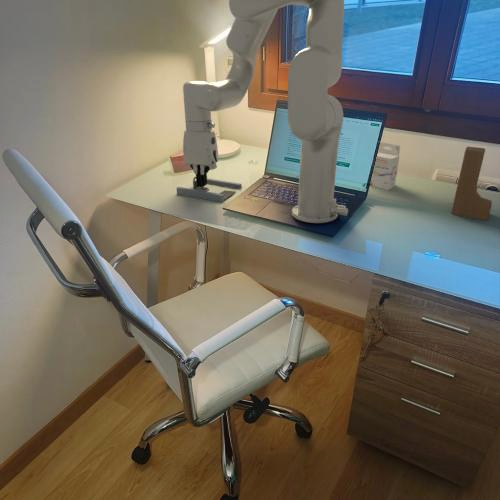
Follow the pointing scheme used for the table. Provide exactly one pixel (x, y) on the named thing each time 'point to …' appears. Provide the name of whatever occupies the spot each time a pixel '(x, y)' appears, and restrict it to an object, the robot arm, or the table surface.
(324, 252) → the table surface
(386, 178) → the ink cartridge box
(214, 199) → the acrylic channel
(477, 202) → the wooden block
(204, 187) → the strap clip
